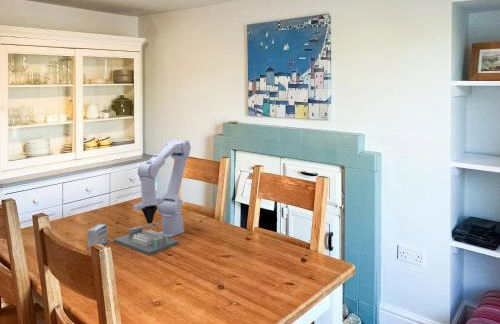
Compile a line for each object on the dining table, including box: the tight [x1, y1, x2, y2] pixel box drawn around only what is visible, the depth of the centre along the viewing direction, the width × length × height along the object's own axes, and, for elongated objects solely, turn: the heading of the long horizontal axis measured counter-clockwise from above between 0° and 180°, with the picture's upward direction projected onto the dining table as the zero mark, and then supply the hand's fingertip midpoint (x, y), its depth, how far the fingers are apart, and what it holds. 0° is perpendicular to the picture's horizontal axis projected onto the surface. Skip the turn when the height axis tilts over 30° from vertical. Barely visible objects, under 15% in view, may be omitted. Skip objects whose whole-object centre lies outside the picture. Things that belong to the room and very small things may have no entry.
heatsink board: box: [113, 224, 180, 256], centre depth 187 cm, size 16×24×6 cm, turn 52°
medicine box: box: [86, 223, 108, 250], centre depth 182 cm, size 8×4×9 cm, turn 168°
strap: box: [131, 221, 162, 231], centre depth 185 cm, size 17×4×1 cm, turn 51°
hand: (149, 222), depth 184 cm, fingers closed
